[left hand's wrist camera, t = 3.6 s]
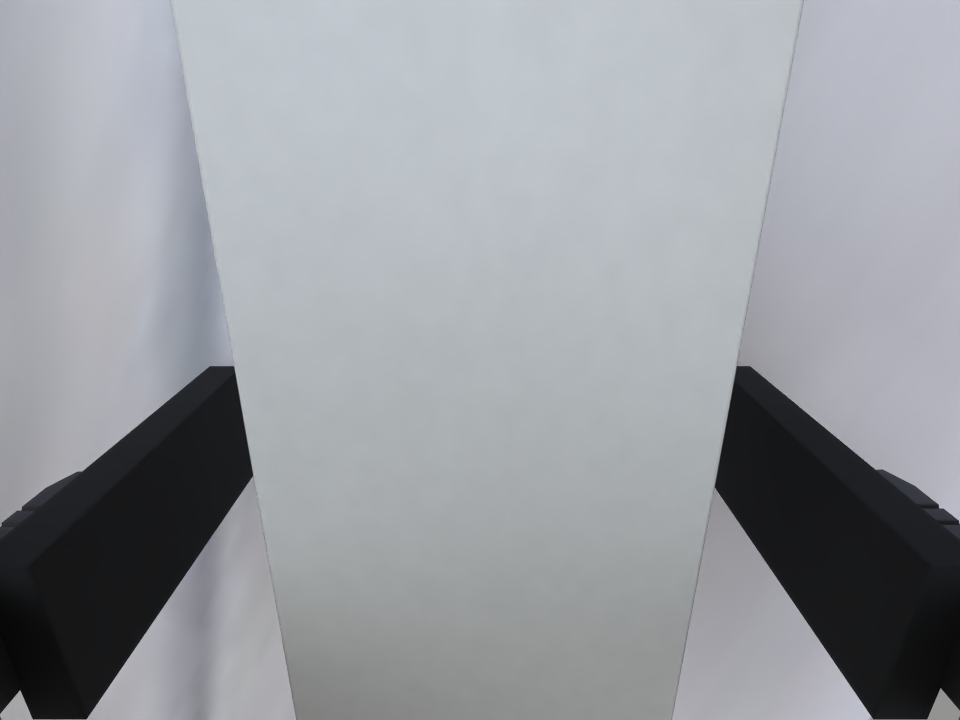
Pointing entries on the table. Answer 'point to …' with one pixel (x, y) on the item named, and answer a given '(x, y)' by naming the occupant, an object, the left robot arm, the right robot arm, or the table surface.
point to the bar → (485, 329)
